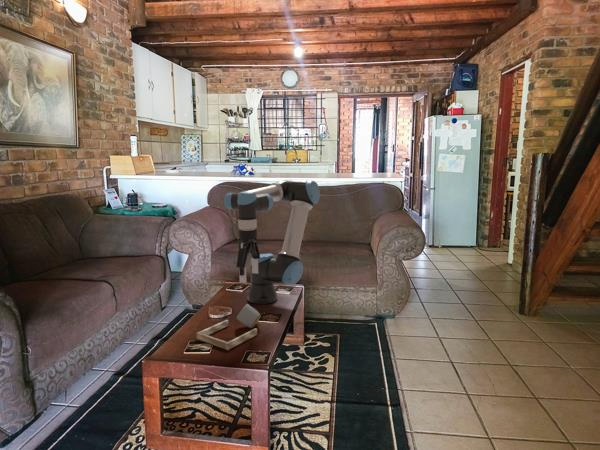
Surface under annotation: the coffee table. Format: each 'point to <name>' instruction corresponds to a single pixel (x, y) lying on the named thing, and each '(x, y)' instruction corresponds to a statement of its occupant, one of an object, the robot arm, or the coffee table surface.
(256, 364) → the coffee table surface
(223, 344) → the u-shaped bracket
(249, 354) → the coffee table surface
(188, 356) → the coffee table surface
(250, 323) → the tilted grey cube
